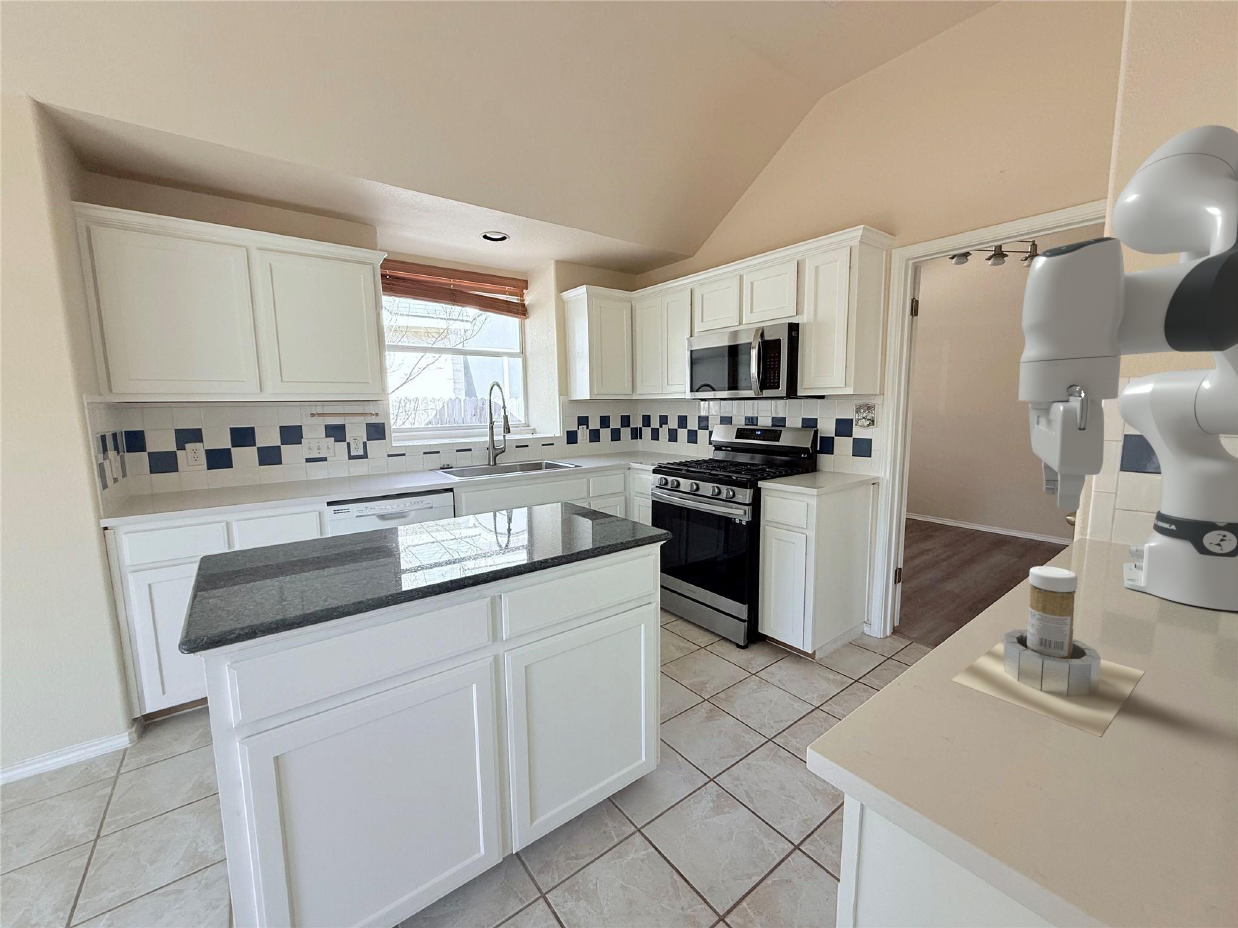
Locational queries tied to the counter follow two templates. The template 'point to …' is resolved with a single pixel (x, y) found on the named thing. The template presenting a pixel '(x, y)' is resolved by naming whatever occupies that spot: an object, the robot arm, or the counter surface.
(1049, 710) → the birch board
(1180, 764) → the counter surface
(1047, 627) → the sprinkles bottle
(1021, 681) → the steel ring
